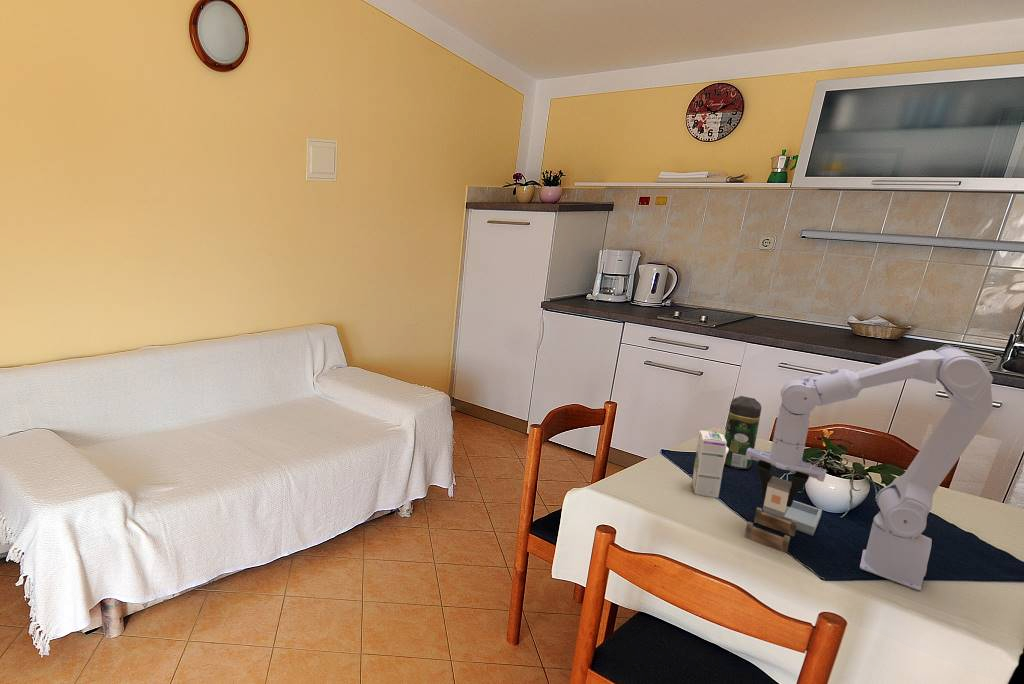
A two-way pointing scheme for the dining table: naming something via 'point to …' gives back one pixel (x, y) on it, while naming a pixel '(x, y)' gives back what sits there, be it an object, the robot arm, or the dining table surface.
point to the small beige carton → (777, 496)
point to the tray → (801, 517)
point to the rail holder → (768, 537)
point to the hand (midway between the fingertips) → (777, 500)
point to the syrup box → (709, 463)
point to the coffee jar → (741, 430)
